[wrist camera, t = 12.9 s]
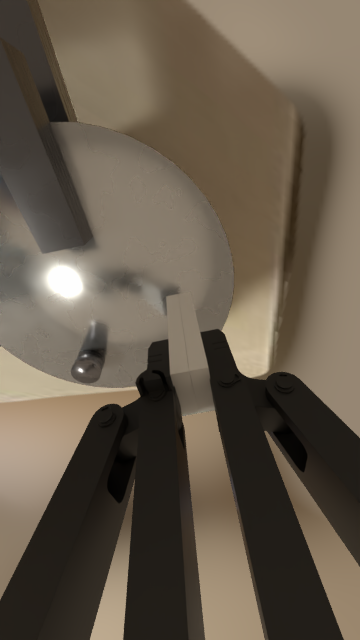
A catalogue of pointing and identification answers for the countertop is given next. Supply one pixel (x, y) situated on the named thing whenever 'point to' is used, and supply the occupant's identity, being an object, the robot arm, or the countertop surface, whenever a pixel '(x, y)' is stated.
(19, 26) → the pot
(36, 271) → the lid
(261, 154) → the countertop surface
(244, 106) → the countertop surface
